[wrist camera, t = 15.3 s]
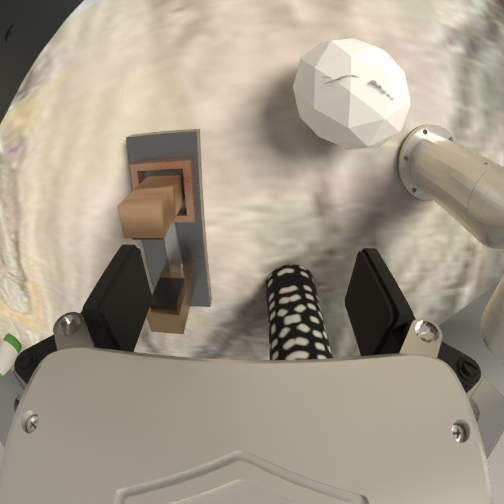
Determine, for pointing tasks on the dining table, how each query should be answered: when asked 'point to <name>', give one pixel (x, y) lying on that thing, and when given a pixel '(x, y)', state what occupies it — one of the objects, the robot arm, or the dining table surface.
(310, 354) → the white-spotted black cylinder
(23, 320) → the dining table surface
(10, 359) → the wine bottle
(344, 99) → the geodesic sphere
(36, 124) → the dining table surface
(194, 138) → the rail
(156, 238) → the gripped brown wooden block
